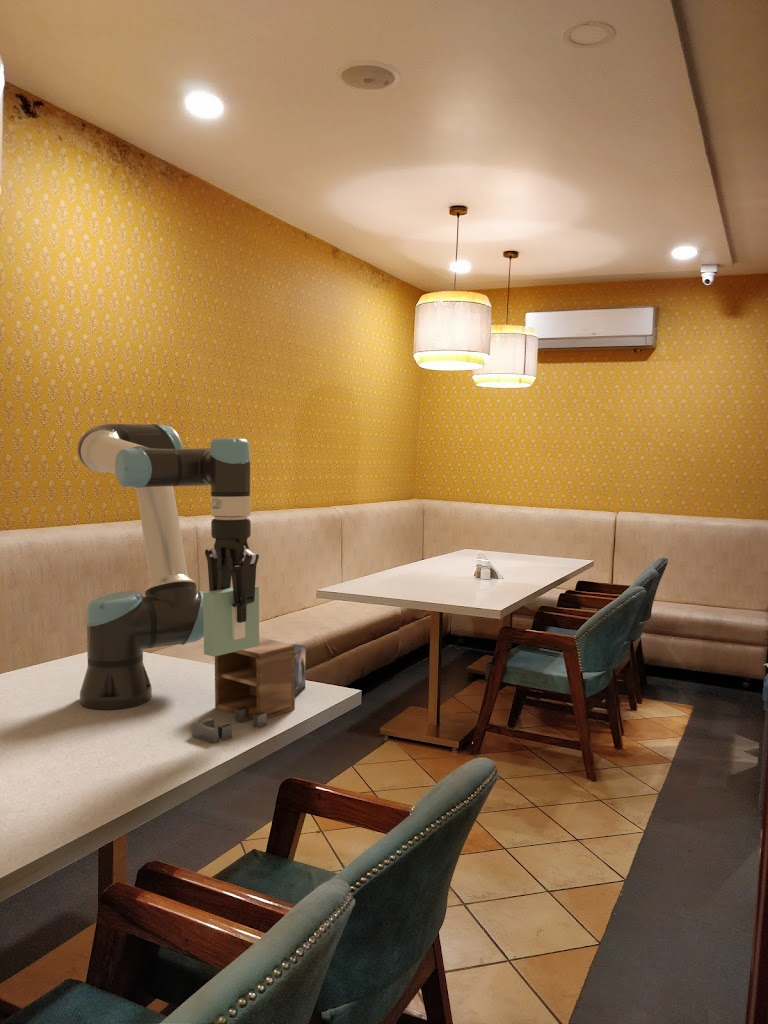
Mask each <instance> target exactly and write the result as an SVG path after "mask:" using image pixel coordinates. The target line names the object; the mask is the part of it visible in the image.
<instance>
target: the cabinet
mask: <svg viewBox="0 0 768 1024" xmlns="http://www.w3.org/2000/svg"><path fill="white" fill-rule="evenodd" d="M293 644H294V643H289V642H288V643H287V642H284V641H278V640H273V639H268V638H264V637H261V636H259V646H256V647H252V648H248V649H244V650H239V651H235V652H231V653H227V654H223V655H219V656H215V657H214V702H215V703H214V708H215V709H218V710H222V711H225V712H228V713H231V714H235V715H236V709H239V708H242V707H248V708H249V719H251V720H253V715H254V714H257V713H260V712H265V713H267V720H268V719H271V718H274V717H277V716H279V715H282V714H283V715H284V714H285V713H289V712H292V711H294V710H295V709H296V707H295V706H296V697H295V645H293Z"/></svg>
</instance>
